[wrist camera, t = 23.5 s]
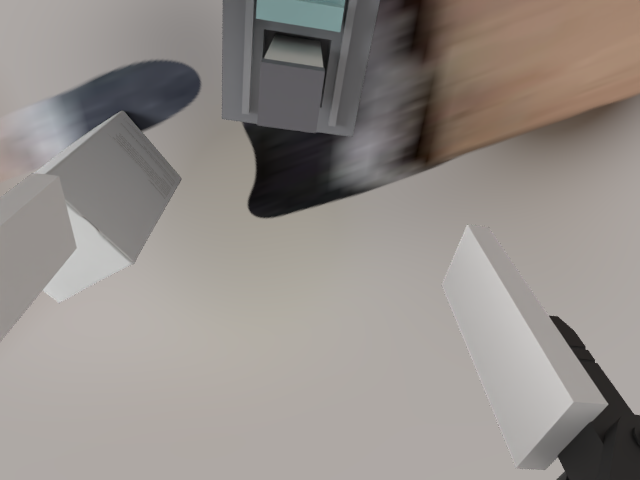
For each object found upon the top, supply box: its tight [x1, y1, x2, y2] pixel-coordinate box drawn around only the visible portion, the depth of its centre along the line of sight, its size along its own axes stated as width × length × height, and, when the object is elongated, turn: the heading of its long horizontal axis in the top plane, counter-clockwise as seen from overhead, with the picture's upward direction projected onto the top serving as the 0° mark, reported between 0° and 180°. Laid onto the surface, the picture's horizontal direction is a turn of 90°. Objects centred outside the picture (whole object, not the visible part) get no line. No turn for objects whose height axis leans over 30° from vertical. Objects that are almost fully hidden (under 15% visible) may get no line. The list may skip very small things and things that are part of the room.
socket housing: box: [222, 0, 380, 137], centre depth 32 cm, size 12×20×5 cm, turn 172°
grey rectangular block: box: [257, 34, 325, 133], centre depth 31 cm, size 4×4×12 cm
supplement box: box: [35, 111, 181, 303], centre depth 36 cm, size 9×9×15 cm
